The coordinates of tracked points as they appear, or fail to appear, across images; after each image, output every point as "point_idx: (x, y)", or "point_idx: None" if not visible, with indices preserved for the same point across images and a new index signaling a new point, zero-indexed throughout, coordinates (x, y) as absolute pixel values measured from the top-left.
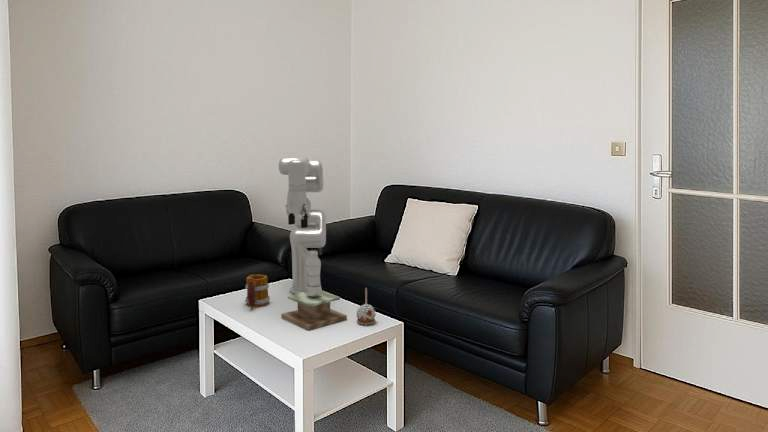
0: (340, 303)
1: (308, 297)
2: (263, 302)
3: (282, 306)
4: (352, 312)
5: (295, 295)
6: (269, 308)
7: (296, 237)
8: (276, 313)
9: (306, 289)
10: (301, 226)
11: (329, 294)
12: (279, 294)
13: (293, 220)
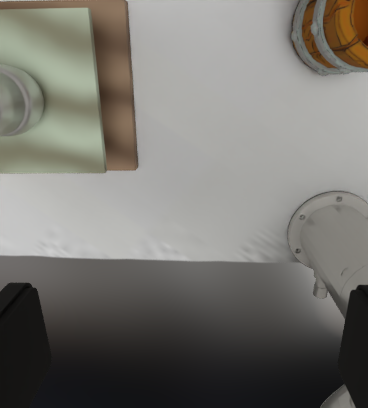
0: (142, 242)
1: None
2: (294, 23)
3: (240, 84)
4: (49, 218)
5: (76, 44)
6: (254, 31)
7: None
8: (187, 19)
9: (6, 67)
10: (5, 293)
11: (14, 164)
12: (363, 153)
13: (364, 394)
